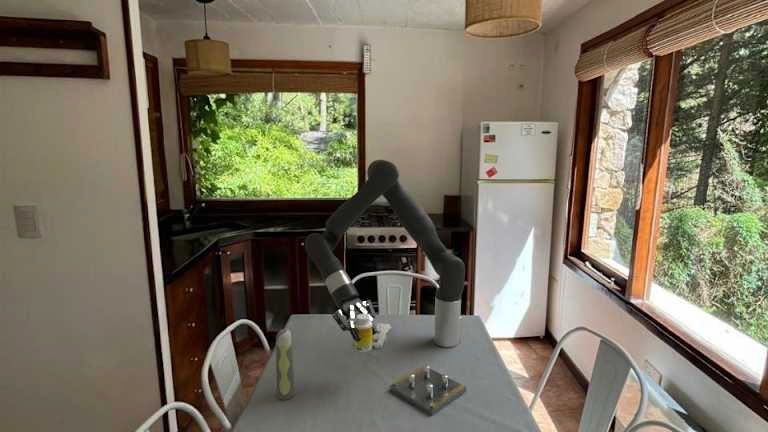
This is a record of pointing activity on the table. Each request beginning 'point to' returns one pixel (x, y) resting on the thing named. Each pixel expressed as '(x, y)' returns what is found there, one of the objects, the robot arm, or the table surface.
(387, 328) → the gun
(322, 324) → the table surface
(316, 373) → the table surface
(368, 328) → the supplement bottle
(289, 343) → the tall green-filled container
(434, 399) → the grey peg fixture plate
